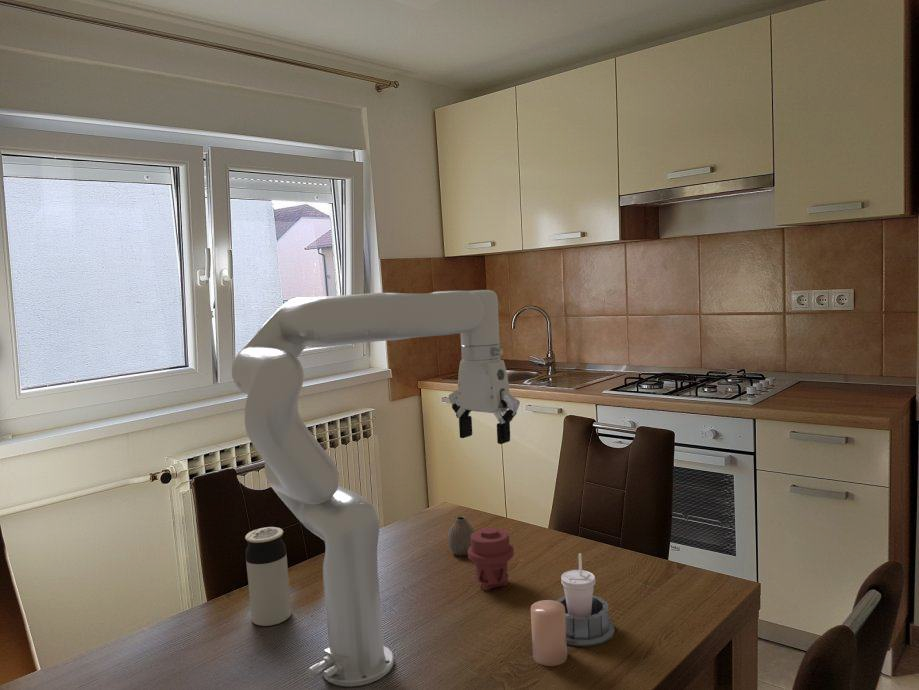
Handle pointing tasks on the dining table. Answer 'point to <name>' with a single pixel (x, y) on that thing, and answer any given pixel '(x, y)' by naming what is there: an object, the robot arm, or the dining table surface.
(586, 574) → the smoothie
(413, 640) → the dining table surface
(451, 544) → the vase
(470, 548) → the mechanical component
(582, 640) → the ring socket
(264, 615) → the travel mug
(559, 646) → the peach rounded cylinder
